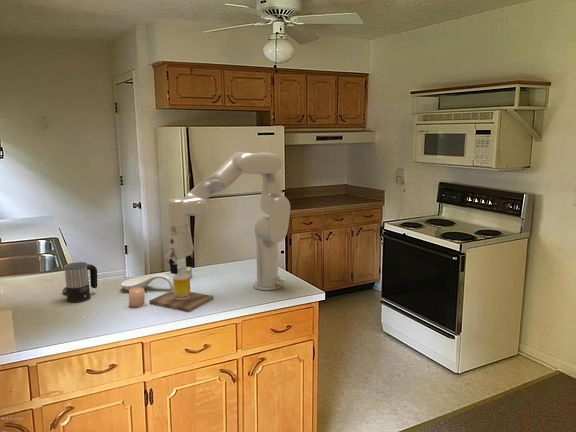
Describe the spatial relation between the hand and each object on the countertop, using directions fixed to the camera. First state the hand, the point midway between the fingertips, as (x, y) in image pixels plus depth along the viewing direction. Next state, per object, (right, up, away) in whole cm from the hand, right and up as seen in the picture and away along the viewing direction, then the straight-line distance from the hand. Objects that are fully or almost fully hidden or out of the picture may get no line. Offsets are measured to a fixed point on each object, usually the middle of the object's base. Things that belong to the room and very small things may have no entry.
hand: (182, 270), depth 198 cm
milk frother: (-47, -12, +8) cm, 49 cm away
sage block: (-5, -8, +32) cm, 33 cm away
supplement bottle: (0, -12, +2) cm, 12 cm away
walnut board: (-1, -13, +2) cm, 13 cm away
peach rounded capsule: (-18, -14, -1) cm, 23 cm away
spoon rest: (-19, -11, +17) cm, 28 cm away
